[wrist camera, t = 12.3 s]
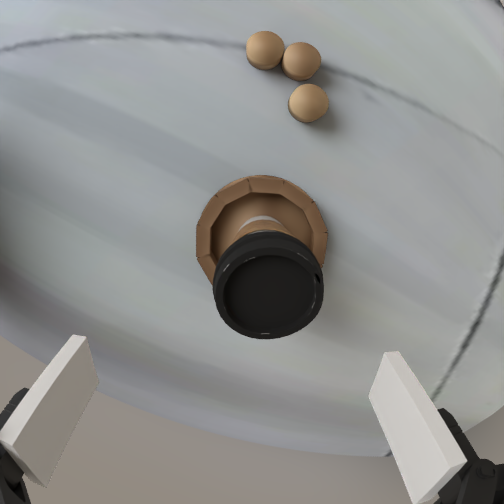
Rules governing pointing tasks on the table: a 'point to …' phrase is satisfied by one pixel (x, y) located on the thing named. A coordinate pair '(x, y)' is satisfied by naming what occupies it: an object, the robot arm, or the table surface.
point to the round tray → (257, 204)
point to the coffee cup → (267, 281)
